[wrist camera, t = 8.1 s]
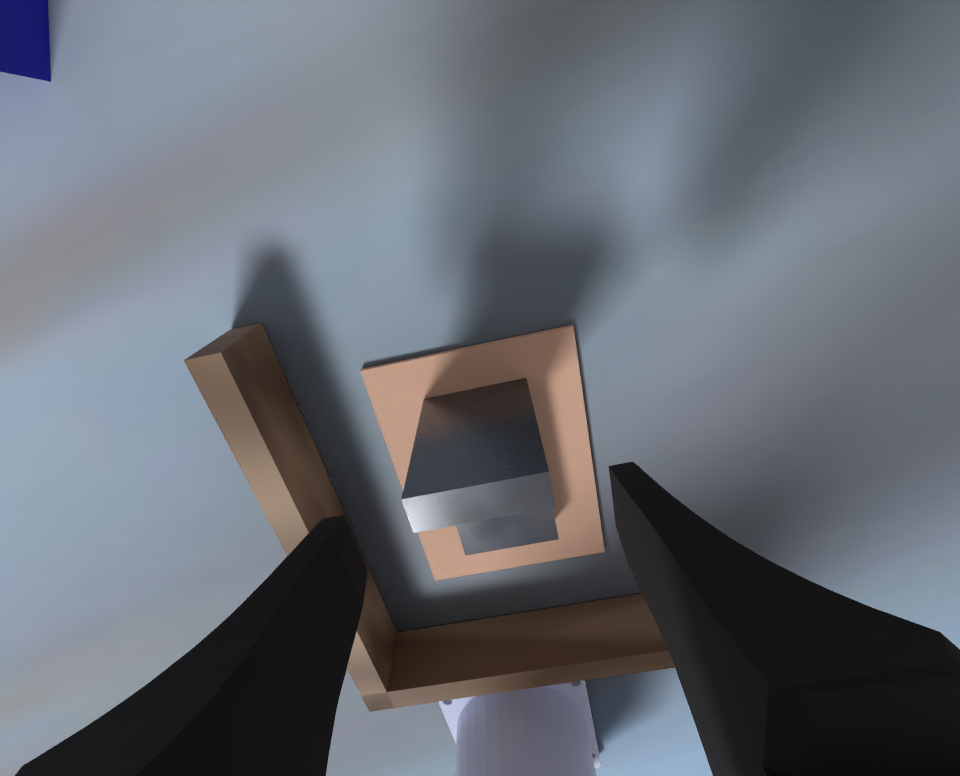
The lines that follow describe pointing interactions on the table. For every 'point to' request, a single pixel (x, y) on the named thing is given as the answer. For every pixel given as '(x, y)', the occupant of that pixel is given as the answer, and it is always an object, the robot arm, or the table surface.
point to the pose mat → (559, 422)
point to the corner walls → (377, 646)
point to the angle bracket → (481, 469)
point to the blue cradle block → (25, 38)
